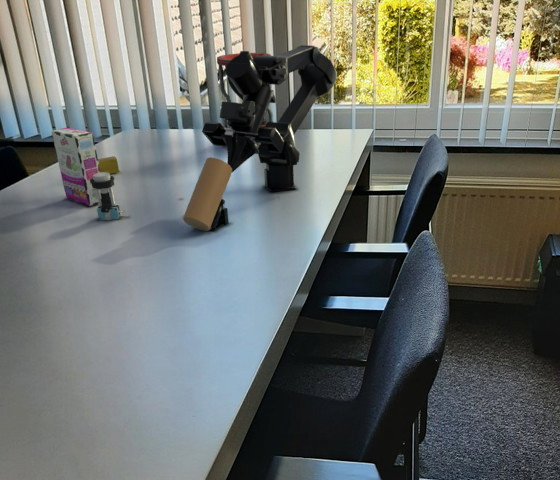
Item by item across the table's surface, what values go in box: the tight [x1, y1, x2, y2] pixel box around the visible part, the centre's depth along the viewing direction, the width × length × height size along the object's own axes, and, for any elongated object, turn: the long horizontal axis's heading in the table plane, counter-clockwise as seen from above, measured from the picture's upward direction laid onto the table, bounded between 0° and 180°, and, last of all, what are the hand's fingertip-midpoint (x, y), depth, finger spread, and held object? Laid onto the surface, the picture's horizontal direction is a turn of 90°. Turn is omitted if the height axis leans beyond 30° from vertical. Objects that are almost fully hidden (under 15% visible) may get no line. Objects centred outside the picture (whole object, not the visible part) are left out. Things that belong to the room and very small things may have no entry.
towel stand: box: [210, 198, 230, 232], centre depth 134 cm, size 5×6×6 cm
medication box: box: [98, 155, 121, 175], centre depth 171 cm, size 12×3×4 cm, turn 116°
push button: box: [90, 172, 128, 221], centre depth 140 cm, size 7×5×10 cm
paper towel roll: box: [182, 156, 232, 232], centre depth 132 cm, size 14×6×14 cm, turn 149°
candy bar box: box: [51, 127, 101, 207], centre depth 150 cm, size 11×5×16 cm, turn 47°
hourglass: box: [216, 52, 274, 148], centre depth 188 cm, size 16×16×25 cm
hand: (229, 171), depth 136 cm, fingers closed
